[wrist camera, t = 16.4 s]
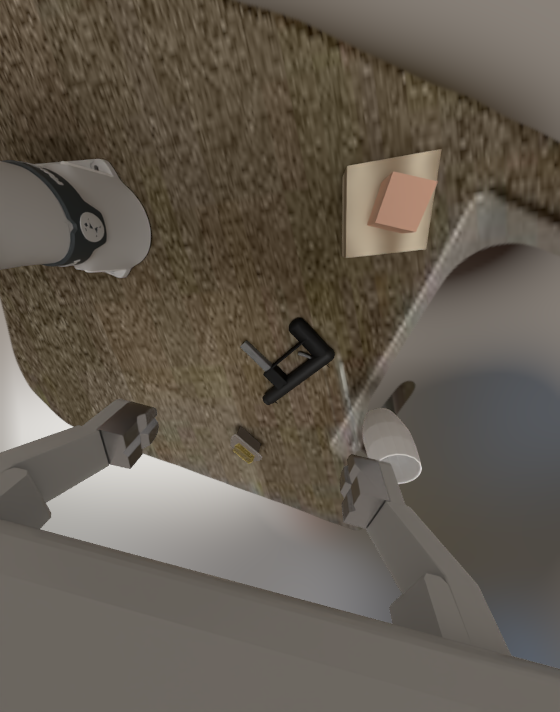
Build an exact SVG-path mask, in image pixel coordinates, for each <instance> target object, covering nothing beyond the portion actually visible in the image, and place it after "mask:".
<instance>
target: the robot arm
mask: <svg viewBox="0 0 560 712" xmlns="http://www.w3.org/2000/svg"><path fill="white" fill-rule="evenodd" d="M97 168H98V169H99V171H98V170H97ZM150 242H151V231H150V225H149V221H148V218H147V215H146V213H145V210H144V208H143V206H142V205H141V203H140V201H139V200H138V199H137V197H136V196H135V195H134V194H133V192H132V191H131V190H130V189H129V188H128V187H126V186H125V185H124V184H123V183H122V181H121V180H120V179H119V177H118V175H117V174H116V172H115V170H114V169H113V167H112V166H111V164H110V163H109V162H108V161H106V160H103V159H89V160H77V161H61V162H53V163H41V164H31V163H27V162H21V161H13V160H5V161H0V270H2V269H7V268H14V267H20V266H29V265H38V264H42V265H45V266H59V267H65V266H72V265H73V266H75V269H78V270H85V272H90V273H92V272H106V273H108V274H111V275H113V276H115V277H118V278H125V277H127V275H128V274H129V272H130V270H131V268H132V267H133V266H135V265H137V264H138V263H140V262H141V261H142V260H143V259H144V258H145V257H146V255H147V253H148V251H149V248H150ZM156 416H157V410H156V408H154V407H150V406H146V405H143V404H139V403H135V402H131V401H127V400H123V399H118V400H115V401H114V402H112V403H111V404H110V405H109V406H107V407H106V408H105V409H103V410H102V411H101V412H100V413H98V414H97V415H96V416H95V417H93V418H92V419H91V420H89V421H88V422H87V423H86V424H84V425H83V426H75V427H73V428H70V429H67V430H64V431H61V432H59V433H56V434H53V435H50V436H47V437H44V438H41V439H38V440H36V441H33V442H30V443H27V444H24V445H21V446H19V447H16V448H13V449H10V450H7V451H4V452H1V453H0V712H560V669H558V668H554V667H550V666H547V665H543V664H539V663H535V662H532V661H528V660H524V659H520V658H517V657H513V656H511V654H510V652H509V650H508V648H507V646H506V643H505V641H504V639H503V637H502V635H501V633H500V631H499V628H498V626H497V624H496V622H495V620H494V618H493V616H492V614H491V612H490V610H489V607H488V605H487V603H486V601H485V599H484V597H483V595H482V593H481V591H480V588H479V586H478V585H477V583H476V582H475V581H474V580H473V579H472V578H471V577H470V575H469V574H468V573H467V572H466V571H465V570H464V569H463V568H462V566H461V565H460V564H459V563H458V562H457V561H456V559H455V558H454V557H453V556H452V555H451V554H450V552H449V551H448V550H447V549H446V548H445V547H444V546H443V544H442V543H441V542H440V541H439V540H438V539H437V537H436V536H435V535H434V534H433V533H432V532H431V531H430V529H429V528H428V527H427V526H426V525H425V524H424V523H423V521H422V520H421V519H420V518H419V517H418V516H417V515H416V513H415V512H414V511H413V510H412V509H411V508H410V507H408V506H406V505H405V502H404V500H403V497H402V494H401V491H400V488H399V485H398V482H397V479H396V477H395V474H394V471H393V468H392V465H391V464H390V463H387V462H383V461H379V460H375V459H371V458H366V457H362V456H357V455H353V454H351V455H350V456H349V457H348V459H347V464H348V465H347V466H345V467H343V470H342V472H341V477H340V492H341V494H342V495H343V496H344V500H343V502H342V512H343V521H344V523H347V524H351V525H354V526H358V527H362V528H365V529H366V531H367V533H368V534H369V536H370V538H371V540H372V541H373V543H374V545H375V547H376V549H377V550H378V552H379V554H380V556H381V557H382V559H383V561H384V563H385V565H386V566H387V568H388V570H389V572H390V573H391V575H392V577H393V579H394V581H395V582H396V584H397V586H398V588H399V589H400V591H401V593H402V595H401V596H400V597H399V598H398V599H396V600H395V601H394V602H393V603H392V604H391V606H390V613H391V618H392V623H393V624H391V623H387V622H383V621H379V620H376V619H372V618H368V617H364V616H361V615H357V614H353V613H350V612H346V611H342V610H338V609H335V608H331V607H327V606H323V605H320V604H316V603H312V602H308V601H305V600H301V599H297V598H294V597H290V596H286V595H283V594H279V593H275V592H271V591H267V590H264V589H260V588H257V587H253V586H249V585H245V584H242V583H237V582H234V581H230V580H227V579H223V578H219V577H215V576H212V575H208V574H204V573H201V572H197V571H193V570H190V569H185V568H182V567H178V566H175V565H171V564H167V563H163V562H159V561H156V560H152V559H148V558H145V557H141V556H137V555H133V554H130V553H126V552H122V551H119V550H115V549H111V548H107V547H103V546H100V545H96V544H93V543H89V542H85V541H81V540H78V539H74V538H70V537H66V536H63V535H59V534H55V533H52V532H48V531H44V530H40V528H41V527H42V526H43V525H44V524H45V523H46V522H47V521H48V520H49V519H50V518H51V512H50V510H49V508H48V506H47V505H46V502H48V501H49V500H51V499H53V498H55V497H56V496H58V495H60V494H61V493H63V492H65V491H66V490H68V489H70V488H72V487H73V486H75V485H77V484H78V483H80V482H82V481H83V480H85V479H87V478H88V477H90V476H92V475H94V474H95V473H97V472H99V471H100V470H102V469H104V468H105V467H107V466H109V464H111V465H116V466H120V467H125V468H129V469H130V468H131V467H132V466H133V465H134V464H135V463H136V461H137V460H138V459H139V458H140V457H141V455H142V449H143V448H145V447H147V446H149V445H150V444H151V443H152V442H153V440H154V439H155V437H156V435H157V433H158V428H159V426H158V422H157V420H156V419H155V417H156Z"/></svg>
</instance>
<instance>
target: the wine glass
mask: <svg viewBox="0 0 560 712" xmlns="http://www.w3.org/2000/svg"><path fill="white" fill-rule="evenodd" d="M363 442H364V445H365V449H366V452H367V455H368V458H371V459H375V460H379V461H383V462H387V463H390V464H391V465H392V468H393V471H394V474H395V477H396V479H397V482H398V484H400V483H407V482H409V481H412V480H414V479H415V478H417V477H418V476H419V475H420V473H421V470H422V467H421V463H420V459H419V455H418V452H417V448H416V445H415V443H414V441H413V438H412V436H411V434H410V432H409V430H408V429H407V428H406V426H405V425H404V424H403V422H402V421H401V420H400V419H399V418H398V417H397V416H396V415H395V414H394V413H393V412H392V411H391V410H388V409H386V408H376V409H373V410H371V411H369V412H368V413H367V414H366V415H365V418H364V423H363Z"/></svg>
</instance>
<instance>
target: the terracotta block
mask: <svg viewBox="0 0 560 712" xmlns="http://www.w3.org/2000/svg"><path fill="white" fill-rule="evenodd" d="M437 183H438V181H434V180H429V179H425V178H420V177H416V176H412V175H407V174H403V173H398V172H394V171H393V172H392V173H391V174H390V175H389V176H388V177H387V178H386V179H384V180H383V181H382V183H381V186H380V189H379V192H378V194H377V197H376V200H375V203H374V206H373V209H372V212H371V215H370V218H369V221H368V224H367V225H368V226H372V227H376V228H381V229H385V230H389V231H393V232H398V233H412V232H416V231H417V228H418V226H419V224H420V221H421V219H422V217H423V215H424V212H425V210H426V208H427V205H428V203H429V201H430V199H431V196H432V194H433V192H434V189H435V187H436V185H437Z"/></svg>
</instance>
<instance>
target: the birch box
mask: <svg viewBox="0 0 560 712" xmlns="http://www.w3.org/2000/svg"><path fill="white" fill-rule="evenodd" d="M440 155H441V149H440V150H434V151H428V152H423V153H417V154H412V155H406V156H400V157H395V158H389V159H384V160H378V161H373V162H367V163H361V164H356V165H350V166H347V168H346V170H345V172H344V175H343V177H342V256H343V257H345V258H351V257H360V256H369V255H378V254H387V253H396V252H405V251H414V250H423V249H426V245H427V238H428V232H429V226H430V219H431V213H432V206H433V200H434V193H435V189H434V192H433V194H432V196H431V199H430V201H429V203H428V205H427V208H426V210H425V212H424V215H423V217H422V219H421V221H420V224H419V226H418V228H417V231H416V232H412V233H398V232H393V231H389V230H385V229H381V228H376V227H372V226H368V225H367V224H368V221H369V218H370V215H371V212H372V209H373V206H374V203H375V200H376V197H377V194H378V192H379V189H380V186H381V183H382V181H383V180H384V179H386V178H387V177H388V176H389V175H390V174H391V173H392V172H393V171H394V172H398V173H403V174H407V175H412V176H416V177H420V178H425V179H429V180H434V181H437V174H438V168H439V161H440Z"/></svg>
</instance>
